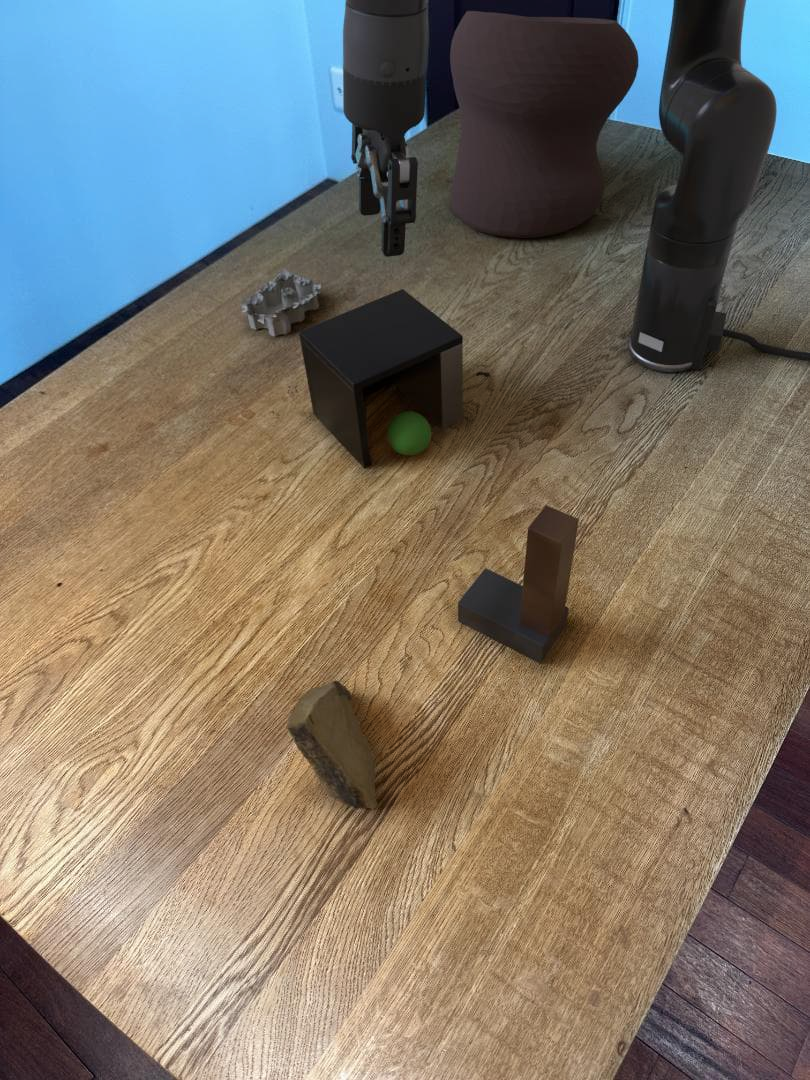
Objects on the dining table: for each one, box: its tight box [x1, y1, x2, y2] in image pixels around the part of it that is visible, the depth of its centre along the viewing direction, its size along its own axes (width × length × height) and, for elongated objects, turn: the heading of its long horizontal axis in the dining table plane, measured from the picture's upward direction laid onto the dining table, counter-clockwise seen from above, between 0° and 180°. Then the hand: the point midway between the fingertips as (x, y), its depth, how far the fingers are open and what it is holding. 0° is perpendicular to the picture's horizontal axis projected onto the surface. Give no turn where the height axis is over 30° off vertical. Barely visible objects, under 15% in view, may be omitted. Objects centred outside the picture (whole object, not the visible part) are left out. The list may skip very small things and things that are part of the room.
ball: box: [386, 410, 432, 456], centre depth 93 cm, size 5×5×5 cm
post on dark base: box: [457, 504, 580, 665], centre depth 72 cm, size 9×5×16 cm, turn 55°
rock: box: [286, 680, 378, 810], centre depth 68 cm, size 11×9×10 cm
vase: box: [448, 10, 639, 239], centre depth 121 cm, size 27×27×30 cm
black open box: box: [298, 288, 464, 469], centre depth 94 cm, size 12×14×12 cm
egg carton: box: [240, 268, 323, 338], centre depth 113 cm, size 11×8×4 cm
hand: (380, 233), depth 84 cm, fingers open, 8 cm apart
